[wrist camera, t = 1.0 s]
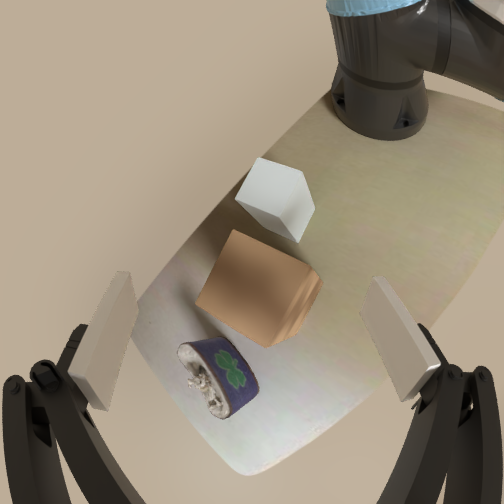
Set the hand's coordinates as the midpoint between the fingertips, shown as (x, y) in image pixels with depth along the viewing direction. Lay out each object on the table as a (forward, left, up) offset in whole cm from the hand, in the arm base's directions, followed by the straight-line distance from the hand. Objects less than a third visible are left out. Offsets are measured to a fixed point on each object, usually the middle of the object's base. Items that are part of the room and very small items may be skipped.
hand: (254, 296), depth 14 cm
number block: (-9, -7, -19) cm, 22 cm away
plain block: (0, -3, -19) cm, 20 cm away
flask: (+11, -4, -20) cm, 23 cm away
